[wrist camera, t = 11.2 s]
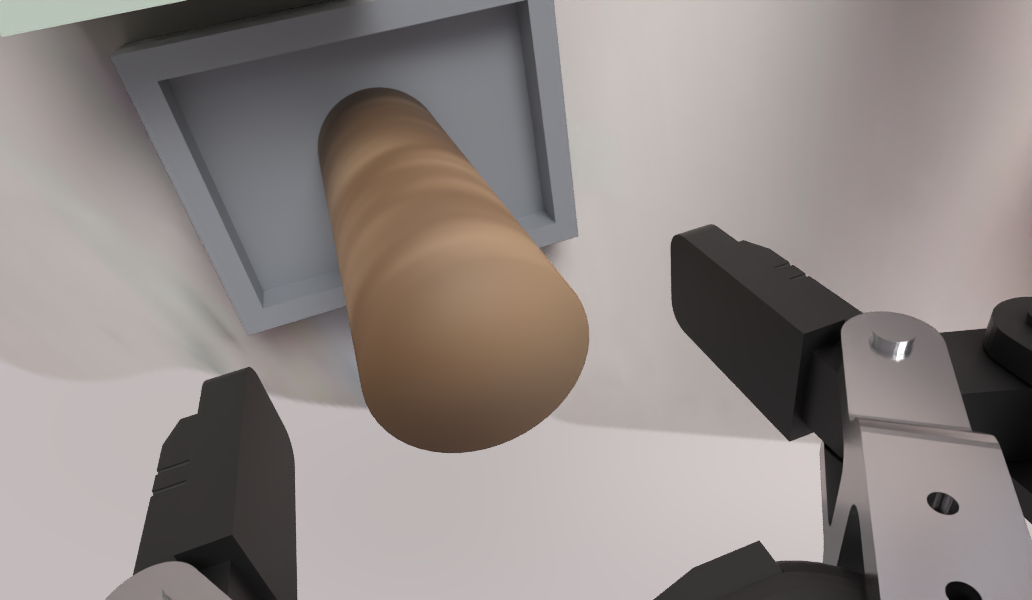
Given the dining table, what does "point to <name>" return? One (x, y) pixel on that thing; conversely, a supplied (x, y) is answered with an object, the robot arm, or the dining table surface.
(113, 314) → the dining table surface
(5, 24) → the pot
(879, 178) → the dining table surface
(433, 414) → the wooden dowel
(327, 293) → the tray
